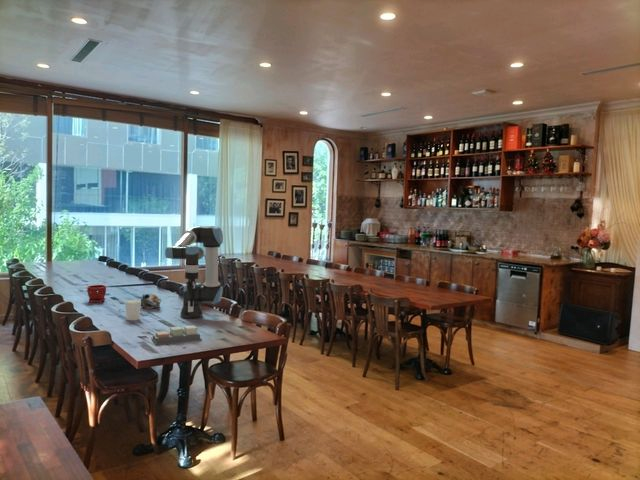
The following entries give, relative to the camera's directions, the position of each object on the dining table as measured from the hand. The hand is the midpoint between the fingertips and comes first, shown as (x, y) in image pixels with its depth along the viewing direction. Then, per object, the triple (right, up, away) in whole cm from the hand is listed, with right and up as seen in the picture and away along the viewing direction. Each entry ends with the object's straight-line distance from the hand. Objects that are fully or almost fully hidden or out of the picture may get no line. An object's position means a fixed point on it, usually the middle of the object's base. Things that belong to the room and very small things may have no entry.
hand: (190, 311), depth 288 cm
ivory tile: (0, -13, +1) cm, 13 cm away
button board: (-7, -16, -3) cm, 18 cm away
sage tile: (-7, -13, -3) cm, 15 cm away
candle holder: (-49, -11, +41) cm, 65 cm away
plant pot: (-96, -5, +89) cm, 131 cm away
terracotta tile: (-14, -15, -7) cm, 22 cm away
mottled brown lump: (-49, -9, +76) cm, 91 cm away
